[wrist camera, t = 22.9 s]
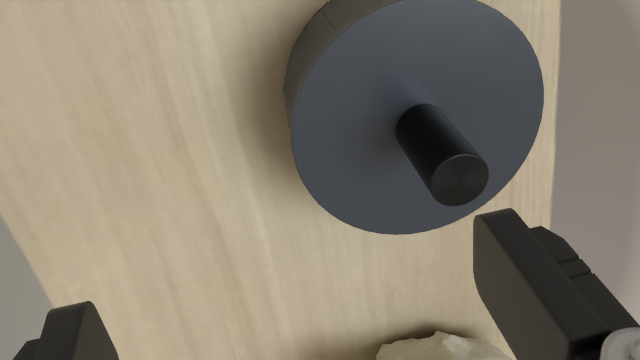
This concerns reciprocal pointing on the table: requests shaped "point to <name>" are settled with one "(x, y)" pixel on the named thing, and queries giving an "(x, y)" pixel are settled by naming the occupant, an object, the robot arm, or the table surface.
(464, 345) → the cream rock
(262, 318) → the table surface
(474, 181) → the lid
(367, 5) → the pot
